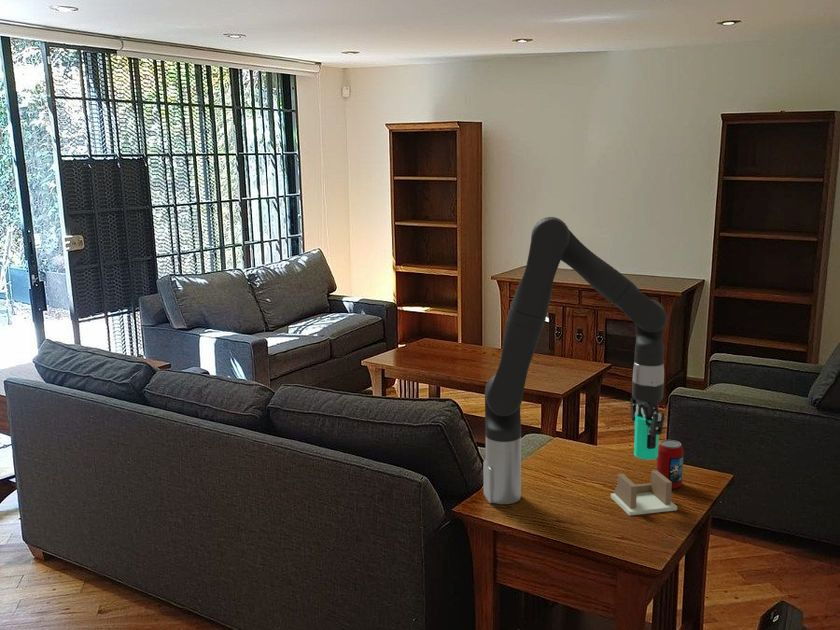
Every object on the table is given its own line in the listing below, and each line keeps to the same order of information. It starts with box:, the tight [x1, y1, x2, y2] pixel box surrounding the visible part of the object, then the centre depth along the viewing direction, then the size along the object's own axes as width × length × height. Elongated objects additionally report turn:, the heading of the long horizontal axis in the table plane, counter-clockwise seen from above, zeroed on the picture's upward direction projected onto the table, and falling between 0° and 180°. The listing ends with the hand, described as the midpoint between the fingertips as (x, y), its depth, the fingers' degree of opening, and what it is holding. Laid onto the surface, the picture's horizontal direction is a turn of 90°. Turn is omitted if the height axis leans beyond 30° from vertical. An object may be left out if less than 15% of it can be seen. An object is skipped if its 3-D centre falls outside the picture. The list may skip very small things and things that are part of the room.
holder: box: [610, 469, 678, 516], centre depth 205 cm, size 13×11×7 cm
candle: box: [633, 414, 660, 461], centre depth 202 cm, size 6×6×12 cm
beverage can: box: [656, 439, 685, 490], centre depth 216 cm, size 7×7×12 cm
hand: (645, 443), depth 203 cm, fingers closed on candle, 5 cm apart
